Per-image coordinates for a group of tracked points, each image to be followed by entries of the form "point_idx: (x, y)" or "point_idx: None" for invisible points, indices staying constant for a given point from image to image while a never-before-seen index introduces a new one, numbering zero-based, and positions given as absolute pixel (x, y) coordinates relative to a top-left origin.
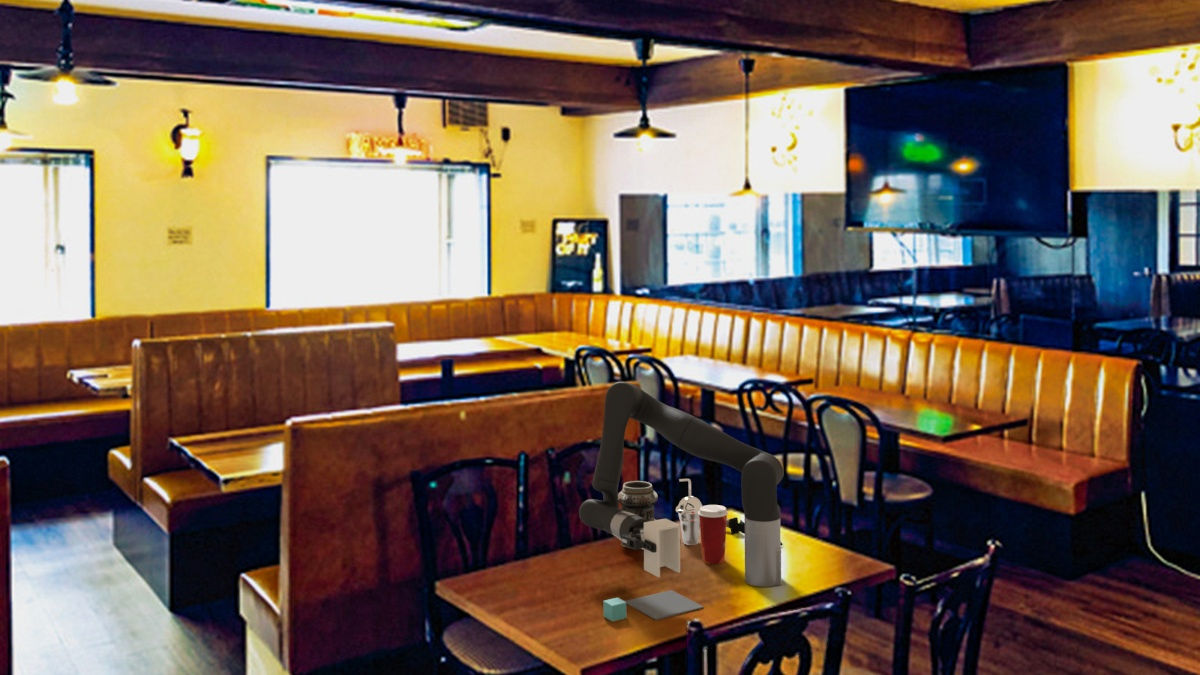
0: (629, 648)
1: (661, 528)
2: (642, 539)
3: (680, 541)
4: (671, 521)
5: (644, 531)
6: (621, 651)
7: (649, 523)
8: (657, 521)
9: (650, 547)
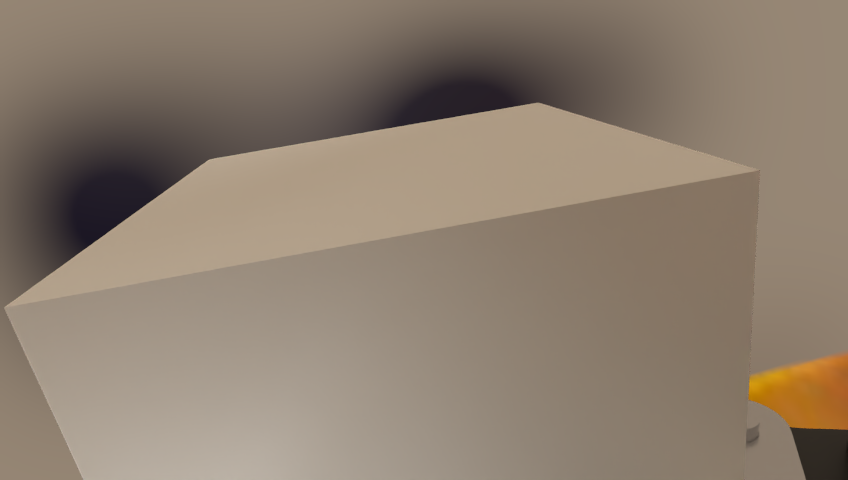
0: (783, 385)
1: (488, 111)
2: (768, 420)
3: None
4: (152, 208)
5: (728, 367)
6: (815, 373)
7: (605, 158)
8: (376, 204)
9: None
